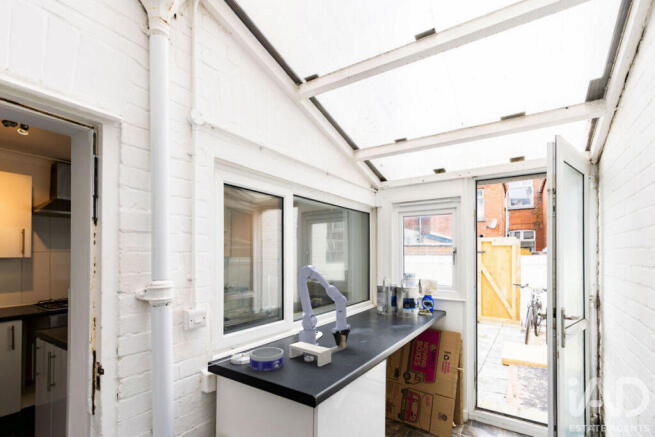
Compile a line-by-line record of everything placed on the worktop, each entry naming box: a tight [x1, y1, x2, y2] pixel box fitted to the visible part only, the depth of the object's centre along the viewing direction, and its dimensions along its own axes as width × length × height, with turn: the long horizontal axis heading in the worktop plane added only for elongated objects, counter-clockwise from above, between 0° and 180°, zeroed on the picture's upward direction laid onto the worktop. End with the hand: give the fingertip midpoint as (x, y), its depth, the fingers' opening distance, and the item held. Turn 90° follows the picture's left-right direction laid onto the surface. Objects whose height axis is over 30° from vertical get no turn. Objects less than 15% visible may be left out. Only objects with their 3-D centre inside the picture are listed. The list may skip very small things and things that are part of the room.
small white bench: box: [288, 341, 332, 367], centre depth 156 cm, size 20×8×6 cm, turn 51°
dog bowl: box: [249, 346, 284, 372], centre depth 149 cm, size 15×15×6 cm
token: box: [304, 355, 315, 363], centre depth 155 cm, size 4×4×2 cm
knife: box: [316, 331, 323, 341], centre depth 202 cm, size 30×2×8 cm
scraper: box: [313, 335, 347, 358], centre depth 168 cm, size 5×21×6 cm, turn 141°
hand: (341, 344), depth 175 cm, fingers open, 5 cm apart
